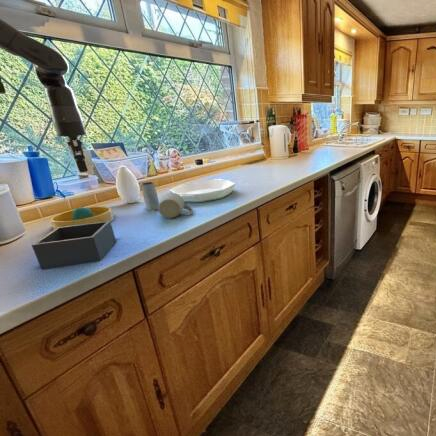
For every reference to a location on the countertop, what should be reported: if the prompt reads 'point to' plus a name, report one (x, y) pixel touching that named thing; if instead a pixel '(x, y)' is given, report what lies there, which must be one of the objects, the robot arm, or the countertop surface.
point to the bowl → (98, 216)
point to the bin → (74, 245)
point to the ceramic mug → (173, 206)
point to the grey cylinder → (150, 195)
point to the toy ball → (81, 213)
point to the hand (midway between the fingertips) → (83, 170)
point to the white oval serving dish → (204, 190)
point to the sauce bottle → (127, 185)
